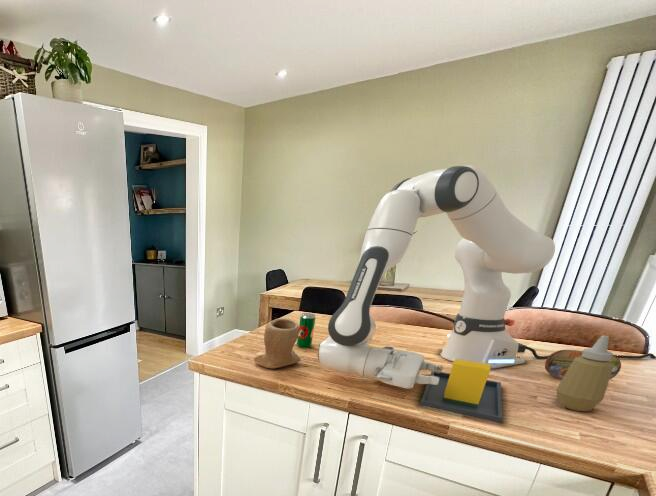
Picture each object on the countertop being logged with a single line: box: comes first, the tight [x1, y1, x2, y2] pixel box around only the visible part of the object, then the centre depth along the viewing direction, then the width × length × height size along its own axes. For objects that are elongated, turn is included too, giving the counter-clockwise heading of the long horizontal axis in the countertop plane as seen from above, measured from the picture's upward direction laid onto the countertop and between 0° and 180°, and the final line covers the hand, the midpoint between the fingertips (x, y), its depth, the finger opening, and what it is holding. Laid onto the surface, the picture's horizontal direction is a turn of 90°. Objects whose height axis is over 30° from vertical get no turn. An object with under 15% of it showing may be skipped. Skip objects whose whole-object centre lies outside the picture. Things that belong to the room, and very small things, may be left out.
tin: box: [544, 349, 622, 381], centre depth 111 cm, size 15×3×8 cm, turn 66°
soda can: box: [296, 312, 317, 349], centre depth 144 cm, size 5×5×12 cm
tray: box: [419, 371, 503, 424], centre depth 103 cm, size 26×16×2 cm, turn 141°
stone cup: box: [253, 317, 301, 369], centre depth 126 cm, size 15×12×15 cm
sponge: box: [443, 359, 491, 407], centre depth 99 cm, size 4×7×10 cm, turn 52°
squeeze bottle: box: [555, 335, 614, 412], centre depth 94 cm, size 8×8×18 cm
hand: (440, 375), depth 101 cm, fingers open, 8 cm apart
